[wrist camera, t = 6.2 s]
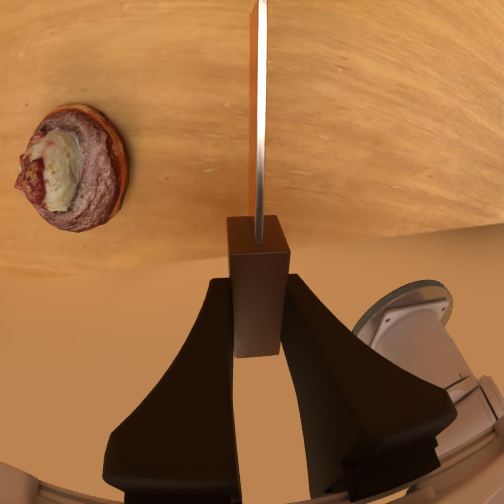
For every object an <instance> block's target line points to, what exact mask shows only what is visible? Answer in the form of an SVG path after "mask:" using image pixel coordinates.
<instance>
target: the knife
mask: <svg viewBox="0 0 504 504" xmlns="http://www.w3.org/2000/svg"><path fill="white" fill-rule="evenodd" d="M267 27H268V0H257V1H256V3H255V5H254V7H253V9H252V11H251V13H250V53H249V216H239V217H227V243H228V265H229V278H230V289H231V301H232V321H233V339H234V357H235V358H247V357H260V356H272V355H278V354H279V350H280V343H281V339H280V335H281V327H282V318H283V310H284V301H285V292H286V287H287V283H288V273H289V263H290V253H291V251H290V249H289V246H288V243H287V241H286V238H285V236H284V233H283V231H282V228H281V225H280V223H279V220H278V218H277V216H276V215H265V216H264V183H265V143H266V96H267Z"/></svg>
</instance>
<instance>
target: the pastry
mask: <svg viewBox="0 0 504 504" xmlns="http://www.w3.org/2000/svg"><path fill="white" fill-rule="evenodd" d="M18 171H19V175H18V178H17V180H16V183H15V186H14V188H16V189H19V190H21V191H22V192H23V194H24V195H25V197H26V198H27V199H28V200H29V201H30V202H31V203H32V205H33V206H34V207H35V209H36V210H37V211H38V213H39V214H40V215H41V216H42V217H43V218H44V219H45V220H46V221H47V222H48V223H49V224H51V225H52V226H54V227H56V228H58V229H60V230H66V231H71V232H77V233H79V232H83V231H87V230H90V229H92V228H95V227H97V226H99V225H103V224H106V223H107V222H108V221H109V220H110V219H111V218H112V217H113V216H114V215H115V214H116V213H117V212H118V211H119V210H120V209H121V207H122V203H123V200H124V196H125V193H126V190H127V187H128V183H129V156H128V153H127V150H126V147H125V144H124V141H123V138H122V136H121V135H120V134H119V132H118V131H117V130H116V129H115V127H114V126H113V125H112V124H111V123H110V121H109V120H108V119H107V118H106V116H105V115H104V114H103V113H102V112H101V111H99V110H97V109H95V108H93V107H90V106H87V105H82V104H78V105H63V106H57V107H56V108H55V109H54V110H53V111H52V112H50V113H49V114H48V115H47V116H46V117H45V118H44V120H43V121H42V122H41V124H40V125H39V126H38V128H37V129H36V131H35V133H34V134H33V136H32V137H31V139H30V141H29V144H28V147H27V150H26V151H25V152H24V153H23V154H22V155H21V156H20V163H19V169H18Z"/></svg>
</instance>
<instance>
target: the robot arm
mask: <svg viewBox="0 0 504 504" xmlns="http://www.w3.org/2000/svg"><path fill="white" fill-rule="evenodd" d="M448 305H449V301H448V300H447V299H445V300H440V301H435V302H430V303H425V304H419V305H414V306H408V307H403V308H397V309H391V310H387V311H386V312H385V313H384V315H383V317H382V320H381V322H380V324H379V327H378V329H377V332H376V334H375V336H374V339H373V341H372V343H371V345H370V347H369V346H368V345H367V344H365V343H364V342H363V341H362V340H360V339H359V338H358V337H357V336H356V335H354V334H353V333H352V332H351V331H350V330H349V329H348V328H347V327H346V326H344V324H342V323H341V322H340V321H339V320H338V319H337V318H336V317H335V316H334V315H333V314H332V313H331V312H330V311H329V309H328V308H327V307H326V306H325V305H324V304H323V303H322V302H321V301H320V300H319V299H318V298H317V296H316V295H315V294H314V293H313V292H312V291H311V290H310V289H309V287H308V286H307V285H306V284H305V283H304V281H303V280H302V279H301V278H300V276H298V274H288V283H287V287H286V292H285V301H284V310H283V318H282V327H281V335H280V339H281V343H282V347H283V350H284V353H285V357H286V360H287V364H288V367H289V370H290V374H291V377H292V380H293V384H294V387H295V392H296V396H297V401H298V406H299V412H300V418H301V424H302V431H303V437H304V444H305V452H306V460H307V469H308V479H309V491H310V496H311V500H306V501H300V502H295V503H288V504H367V503H370V502H373V501H376V500H378V499H381V498H384V497H387V496H389V495H392V494H395V493H397V492H400V491H402V490H404V489H407V488H409V487H410V488H409V489H408V490H407V492H406V495H405V496H404V497H401V498H399V499H396V500H394V501H391V502H389V503H386V504H504V399H503V397H502V395H501V393H500V391H499V390H498V388H497V386H496V384H495V382H494V381H493V379H492V377H489V376H487V377H486V376H485V375H483V376H482V377H481V378H480V379H479V380H478V379H477V378H476V377H475V376H474V375H473V373H472V371H471V370H470V368H469V366H468V364H467V363H466V361H465V359H464V358H463V356H462V354H461V353H460V351H459V349H458V348H457V346H456V345H455V343H454V341H453V340H452V338H451V337H450V335H449V334H448V332H447V331H446V329H445V328H444V326H443V325H442V323H441V322H440V320H441V318H442V316H443V314H444V313H445V311H446V309H447V307H448ZM233 350H234V339H233V321H232V301H231V289H230V278H213V279H212V280H210V282H209V287H208V291H207V294H206V297H205V300H204V302H203V305H202V308H201V310H200V312H199V314H198V317H197V319H196V321H195V324H194V325H193V328H192V329H191V331H190V333H189V335H188V337H187V339H186V341H185V343H184V345H183V346H182V348H181V350H180V351H179V353H178V355H177V356H176V358H175V359H174V361H173V362H172V364H171V365H170V367H169V368H168V370H167V371H166V372H165V374H164V375H163V377H162V378H161V379H160V381H159V382H158V384H157V385H156V386H155V387H154V388H153V390H152V391H151V392H150V393H149V394H148V395H147V397H146V398H145V399H144V400H143V401H142V402H141V404H140V405H139V406H138V407H137V408H136V409H135V410H134V411H133V412H132V413H131V414H130V415H129V416H128V417H127V418H126V419H125V420H124V421H123V422H122V423H121V424H120V425H119V426H118V427H117V428H116V429H115V430H114V431H113V432H112V433H111V435H110V437H109V441H108V444H107V448H106V451H105V455H104V464H103V475H102V478H103V480H104V481H105V482H106V483H108V484H109V485H111V486H113V487H115V488H117V489H119V490H121V491H123V492H125V496H124V502H118V501H112V500H108V499H103V498H98V497H94V496H90V495H86V494H82V493H78V492H74V491H71V490H68V489H65V488H61V487H58V486H55V485H52V484H49V483H46V482H43V481H41V480H39V479H38V478H36V477H34V476H32V475H30V474H28V473H26V472H24V471H22V470H20V469H17V468H15V467H13V466H10V465H8V464H6V463H4V462H0V504H242V492H241V483H240V474H239V465H238V455H237V445H236V435H235V423H234V413H233Z"/></svg>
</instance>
